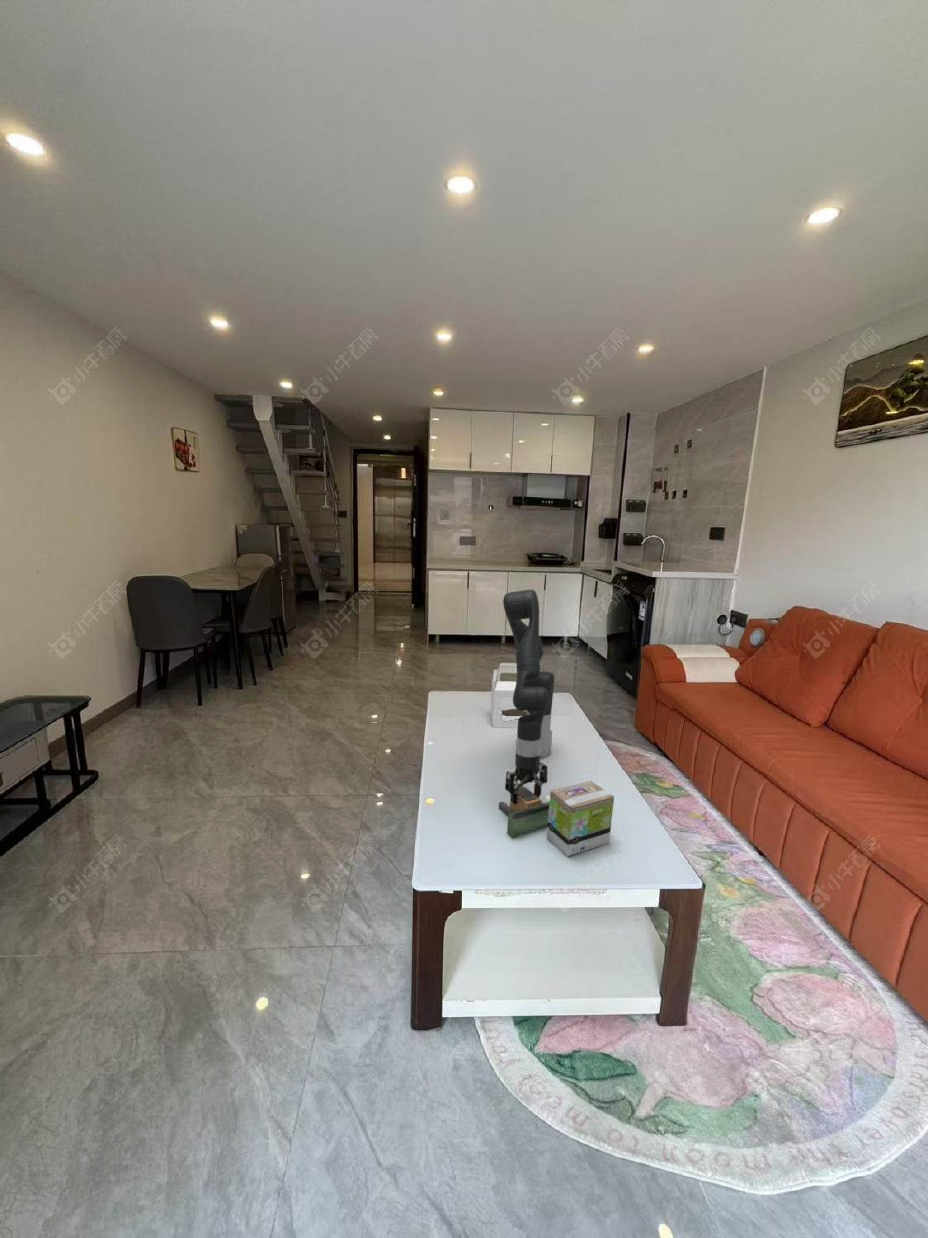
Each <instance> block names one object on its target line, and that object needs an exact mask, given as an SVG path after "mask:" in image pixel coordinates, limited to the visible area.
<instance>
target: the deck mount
mask: <svg viewBox="0 0 928 1238" xmlns="http://www.w3.org/2000/svg"><path fill="white" fill-rule="evenodd" d="M549 803H550V800H549V801H547V802H542V801H541V804H540V805H536V806H533V807H530V808H527V809H523V810H520V811H517V812H515V811H514V810H512V809H511V808H510V805H508V804H507V803H506V802H504V801H500V802H499V801H498V809H499V810H500V811H501V812H502V813H503V814H505V816H506V817H507V830H506V831H507V832H506V834H507V835H508V836H509V837H510V838H511V839H513V838H517V837H520V836H522V835H525V834H529V833H531V832H535V831H538V830H540V829H543V828H547V826H548V814H549Z"/></svg>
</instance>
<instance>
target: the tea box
mask: <svg viewBox="0 0 928 1238" xmlns="http://www.w3.org/2000/svg"><path fill="white" fill-rule="evenodd" d="M614 800H615V796H614V795H612V794H611V793H610V792H608V791H606V790H605V789H604V788H602V787H600V785H598V784H596V783H595V782H593V780H589V781H586V782H581V783H577V784H573V785H569V786H565V787H561V788H557V789H552V790H550V794H549V801H550V803H549V814H548V826H546V838H547V839H548V840H549V841H550V842H551V843H552V844H553V845H554V846H555V847H556V848H558V850H560V851H561V852H562V853H563V854H564V855H565V856H567V857H571V856H572V855H575V854H576V855H577V854H579V853H581V852H584V851H588V850H591V849H594V847H595V848H597V847H601V846H604V845H607V843H608V844H609V843H610V840H611V830H612V818H613V812H614V811H613V809H614V802H615V801H614Z"/></svg>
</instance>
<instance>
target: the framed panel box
mask: <svg viewBox="0 0 928 1238" xmlns="http://www.w3.org/2000/svg"><path fill="white" fill-rule="evenodd" d="M517 793H518V802H517V804H516V805H514V804H513V803H512V802H511V800H510V799H509V807H510V808H511V809H512V810H514V811H515V812H517V811H520V810H523V809H527V808H530V807H533V806H536V805H540V804H541V802H542V799H541V798H540V797H539V798H538V797H537V796H536V795H535V794H534V792H532V791H531V790H529V788H527V787H526V786H524V785H523V786H522V788H520V789H519V791H518V792H517ZM509 794H510V796H511V793H509Z"/></svg>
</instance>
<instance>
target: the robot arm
mask: <svg viewBox="0 0 928 1238" xmlns="http://www.w3.org/2000/svg"><path fill="white" fill-rule="evenodd" d="M502 601H503V602H502V603H503V609H504V614H505V617H506V618H507V619H506V620H507V621H508V624H509V626H510V629H511V632H512V637H513V641H514V645H515V651H516V654H515V661H516V662H515V663H516V665H517V673H516V680H515V681H516V687H515V691H514V695H513V698H512V704H513V706H514V709H518V710H520V711H527V715H525V716H522V717H520V718H519V720H518V728H517V733H516V741H515V757H514V758H515V759H514V763H515V769H514V771H506V773H505V784H504V785H505V786H504V790H505V791H507V792H508V793H509V794H510V793H511V796H510V798H509V801H510V800H511V802H512V803H513V804H514V805H516V804H517V802H518V793H517V792H518V791H519V789H520V788H522V787H523V786H524V785H526V784H528V783H533V782H534V785H533V794H535V795H536V796H537V797H538V798H540V797H541V795H542V786H543V785H545V784H547V783H548V766H547V765H546V764H544V763H543V762H541V759H545V758H547V757H549V755H551V754H552V742H553V741H552V740H553V730H551V724H552V723H551V721H552V708H553V707H552V706H553V699H554V689H555V675H554V673H552V672H549V671H544V670H542V671H540V670H541V665H540V664H541V663H540V661H541V660H542V657H543V655H544V647H543V643H542V638H541V637H540V602H539V598H538V595H537V591H535V590H534V589H523V590H517V591H511V592H508V593H507V592H506V594H504V596H503V600H502ZM525 619H529V621H528V625H527V624H526V623H524V622H523V620H525ZM538 774H539V776H538Z"/></svg>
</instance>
